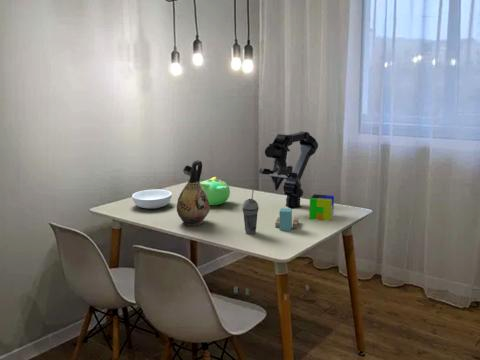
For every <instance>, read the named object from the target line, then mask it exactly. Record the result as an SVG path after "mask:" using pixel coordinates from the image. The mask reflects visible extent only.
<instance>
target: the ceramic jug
mask: <svg viewBox="0 0 480 360" xmlns="http://www.w3.org/2000/svg"><path fill="white" fill-rule="evenodd" d="M202 170H203V162H202V161H201V160H199V159H198V160H194V161H193V162H192V164H191V166H190V165H185V166H184V167H183V173H184V175H187V176H189V180H188V181H187V183H186V185H185V186H184V188H183V189H182V190H181V192H180V193H179V196H178V198H177V203H176V212H177V216H178V217H179V219H180V220H181V221H182V224H183V225H184V226H186V227H187V226H188V227H197V226H199V225H202V224H203V222H204V220H205V219H206V217H207V216H208V214H209V212H210V205H209V200H208V197H207V195H206V193H205V191H204V190H203V188H202V187H201V185H200V183H201V180H200V179H201V176H202Z"/></svg>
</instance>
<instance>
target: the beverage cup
mask: <svg viewBox="0 0 480 360" xmlns="http://www.w3.org/2000/svg"><path fill="white" fill-rule="evenodd" d="M254 191H255V190H254V188H253V189H252V192H251V197H250V198H249V199H246V200H245V201H244V202H243V204H242V207H241V208H242V214H243V220H244V221H243V222H244V231H245V234H246V235H249V236H250V235H252V236H253V235H256V233H257V224H258V223H257V222H258V213H259V209H260V208H259V203H258V202H257V201H256V200H255V199H254Z"/></svg>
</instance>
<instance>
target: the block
mask: <svg viewBox="0 0 480 360" xmlns="http://www.w3.org/2000/svg"><path fill="white" fill-rule="evenodd" d="M279 217H280V228H279V231H280V230H281V231H282V230H283V231H284V232H285V231H286V232H291V231H292V229H293V228H292V223H293V208H288V207H287V208H282V207H281V208H280V210H279Z"/></svg>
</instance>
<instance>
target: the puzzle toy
mask: <svg viewBox="0 0 480 360" xmlns="http://www.w3.org/2000/svg"><path fill="white" fill-rule="evenodd" d="M334 202H335V196H334V195H327V194H316V193H315V194H313V195H312V196H311V197H310V199H309V220H313V219H318V220H317V221H324V220H330V221H332V219H331V218H333V217H334V208H335V207H334V205H335V203H334ZM332 216H333V217H332Z"/></svg>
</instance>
